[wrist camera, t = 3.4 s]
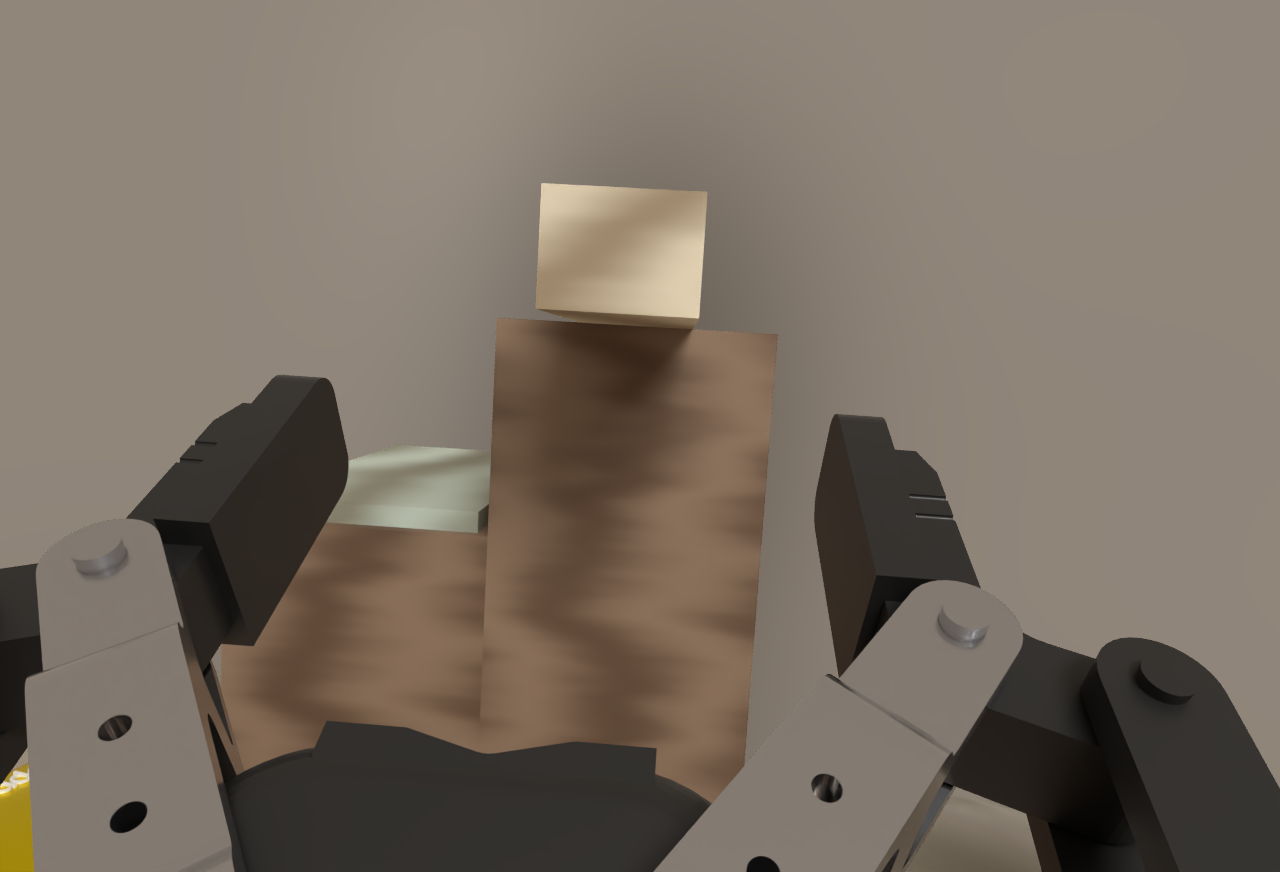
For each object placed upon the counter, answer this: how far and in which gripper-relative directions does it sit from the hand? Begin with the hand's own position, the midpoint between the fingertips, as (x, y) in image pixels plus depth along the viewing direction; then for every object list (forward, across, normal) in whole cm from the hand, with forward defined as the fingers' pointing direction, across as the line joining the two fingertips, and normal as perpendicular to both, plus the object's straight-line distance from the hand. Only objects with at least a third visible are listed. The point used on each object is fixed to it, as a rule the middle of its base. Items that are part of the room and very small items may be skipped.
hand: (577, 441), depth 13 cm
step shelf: (+7, +5, +38) cm, 39 cm away
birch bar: (+19, 0, +8) cm, 20 cm away
